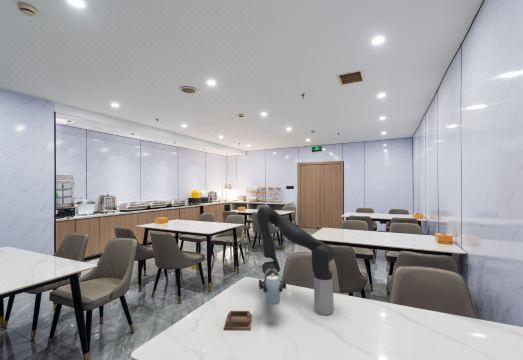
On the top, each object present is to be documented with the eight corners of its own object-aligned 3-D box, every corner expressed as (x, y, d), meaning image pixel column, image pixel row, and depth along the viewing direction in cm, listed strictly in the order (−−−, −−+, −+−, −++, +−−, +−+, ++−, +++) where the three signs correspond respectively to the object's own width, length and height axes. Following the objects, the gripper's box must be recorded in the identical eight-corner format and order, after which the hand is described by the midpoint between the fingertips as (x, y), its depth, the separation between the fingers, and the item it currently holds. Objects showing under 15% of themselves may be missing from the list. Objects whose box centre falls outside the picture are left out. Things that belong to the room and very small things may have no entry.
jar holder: (227, 316, 121) (227, 310, 121) (252, 316, 121) (252, 310, 121) (223, 330, 109) (223, 323, 109) (250, 330, 109) (250, 323, 109)
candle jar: (273, 297, 119) (273, 270, 120) (282, 301, 114) (282, 273, 115) (263, 301, 115) (263, 273, 116) (272, 305, 110) (272, 276, 111)
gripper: (258, 270, 130) (257, 282, 113) (285, 270, 129) (288, 281, 113) (258, 284, 129) (257, 298, 113) (285, 284, 129) (288, 298, 112)
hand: (273, 290), depth 113 cm, fingers closed on candle jar, 6 cm apart
